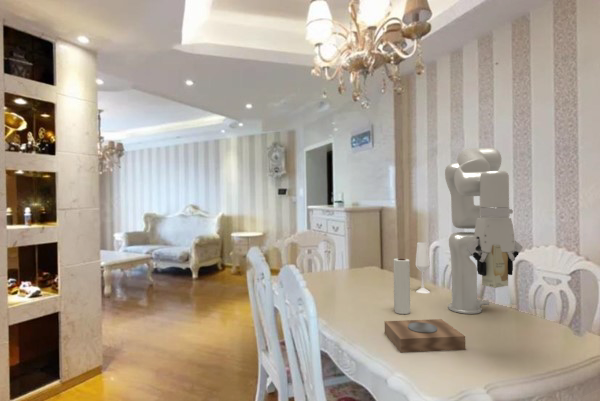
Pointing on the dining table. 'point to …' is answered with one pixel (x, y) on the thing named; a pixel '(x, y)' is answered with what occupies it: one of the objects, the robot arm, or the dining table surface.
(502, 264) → the skincare box
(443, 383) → the dining table surface
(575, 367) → the dining table surface
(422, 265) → the champagne flute
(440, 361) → the dining table surface
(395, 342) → the walnut stand
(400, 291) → the paper towel roll
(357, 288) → the dining table surface
